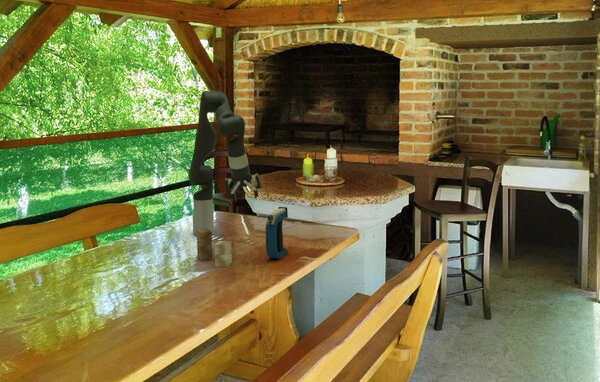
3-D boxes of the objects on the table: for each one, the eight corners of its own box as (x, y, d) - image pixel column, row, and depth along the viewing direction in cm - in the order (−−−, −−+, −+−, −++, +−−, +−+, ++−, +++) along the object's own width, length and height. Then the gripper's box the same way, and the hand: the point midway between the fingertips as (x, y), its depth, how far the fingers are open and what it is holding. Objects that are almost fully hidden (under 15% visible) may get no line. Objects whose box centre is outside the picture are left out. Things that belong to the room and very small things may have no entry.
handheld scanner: (289, 251, 267) (288, 206, 264) (276, 262, 252) (274, 214, 249) (279, 251, 269) (278, 206, 265) (265, 261, 254) (263, 214, 250)
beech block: (215, 266, 248) (214, 244, 247) (220, 262, 253) (219, 241, 251) (227, 266, 247) (226, 244, 245) (231, 263, 252) (231, 241, 250)
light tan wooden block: (200, 261, 255) (199, 232, 253) (197, 258, 259) (196, 230, 257) (212, 259, 257) (211, 231, 255) (209, 256, 262) (208, 228, 259)
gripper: (256, 157, 253) (262, 192, 261) (221, 162, 253) (228, 197, 261) (256, 165, 246) (263, 200, 254) (220, 170, 246) (228, 206, 254)
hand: (245, 198), depth 257 cm, fingers open, 8 cm apart
